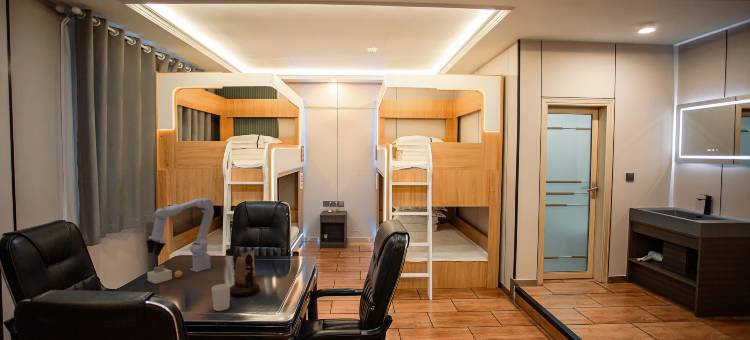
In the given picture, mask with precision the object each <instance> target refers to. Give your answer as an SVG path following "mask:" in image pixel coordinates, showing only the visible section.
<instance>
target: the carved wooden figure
mask: <svg viewBox="0 0 750 340" xmlns="http://www.w3.org/2000/svg"><path fill="white" fill-rule="evenodd" d="M240 254H241V257H246V256H247V255H248V254H251V256H252V259H253V261H252V262H253V263H252V264H253V268H254V270H253V277H255V274H256V272H255V271H256V270H255V269H256V268H255V267H256V266H255V250H250V251H246V252H243V253H240ZM246 268H248V267H246ZM249 268H250V266H249ZM249 272H250V271H249V270H246V271H245V276H247V274H248V273H249Z"/></svg>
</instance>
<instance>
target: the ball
mask: <svg viewBox="0 0 750 340" xmlns="http://www.w3.org/2000/svg"><path fill="white" fill-rule="evenodd" d="M173 275H174V277H175V278H181V277H182V275H183V272H182V271H181V270H179V269H178V270H176V271H175V272H174V274H173Z"/></svg>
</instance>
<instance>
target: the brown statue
mask: <svg viewBox="0 0 750 340" xmlns="http://www.w3.org/2000/svg"><path fill="white" fill-rule="evenodd" d="M241 254H242V253H240V252H239V253H236V254H235V255H234V257H233V263H234V264H233V267H232V268H233V269H232V270H234V275H233V278H234V281H233V282H234V284H233V285H230V296H231V295H234V296H238V295H239V296H241V295H242V296H243V295H245V297H246V298H247V297H248V295H249V294H253V293H255V292H257V291H259V290H260V285H259V283H257V282H254V279H255V278H254V277H255V276H254V277H253V270H254V268H253V264H252V263H253V262H252V261H253V259H252V256H251V254H248V255H247V256H246V257H241ZM249 266H250V268H249ZM246 267H248V268H246ZM246 270H249V271H250V272H249V273H248V274H247V276H245V271H246Z"/></svg>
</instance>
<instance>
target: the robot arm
mask: <svg viewBox="0 0 750 340" xmlns="http://www.w3.org/2000/svg"><path fill="white" fill-rule="evenodd" d="M193 207H197V208H198V209H200V211H201V212H202V213H203V215H202V216H203V217H202V219H201V224H200V226H199V230H198V234H197V237H196V239H195V240H194V241H193V242H192V244H191V246H190V248H189V251H190V252H191V254H192V255H191V256H192V268H190V269H189V270H190V271H193V272H197V273H198V272H201V271H204V270H208V269H211V268H212V266H211V257H210V254H209V253H208V242H207V238H208V235H209V232H210V227H211V224H212V221H213V218H214V214H215V210H214V201H212V199H211V198H206V197H205V198H204V197H198V198H195V199H191V200H190V201H186V202H184V203H181V204H178V203H172V204H171V205H168V206H164V207H163V208H158V209H156V210H155V212H154V213H153V216H154V223H153V226H152V232H151V235H148V240H146V241H145V242H146V245H147V252H148V254H154V256H160V254H161V252H162V250H163V248H164V247H166V245H167V243H165V241H166V239H165V238H164V233H165V228H166V222H167V220H168V218H170V217H172V216H175V215H178V214H180V213H181V212H182V210H186V209H190V208H193Z"/></svg>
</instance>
